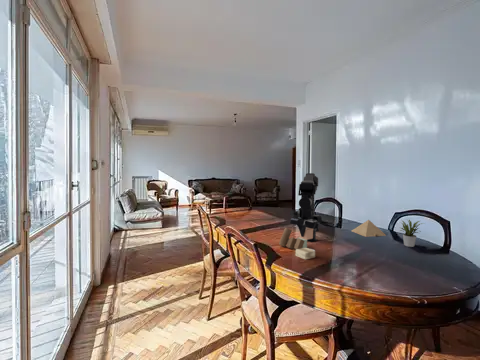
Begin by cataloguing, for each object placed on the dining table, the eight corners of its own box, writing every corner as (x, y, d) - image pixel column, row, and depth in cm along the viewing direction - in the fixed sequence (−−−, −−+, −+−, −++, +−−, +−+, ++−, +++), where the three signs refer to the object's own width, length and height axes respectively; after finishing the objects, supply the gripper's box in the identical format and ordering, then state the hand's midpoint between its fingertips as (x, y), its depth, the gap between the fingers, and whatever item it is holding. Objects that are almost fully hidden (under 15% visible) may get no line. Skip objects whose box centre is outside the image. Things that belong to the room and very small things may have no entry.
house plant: (428, 245, 170) (429, 218, 169) (423, 250, 160) (424, 222, 159) (401, 241, 180) (402, 215, 178) (395, 245, 169) (396, 218, 168)
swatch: (306, 248, 163) (306, 247, 163) (315, 250, 158) (315, 249, 158) (299, 249, 159) (299, 249, 159) (308, 252, 154) (308, 251, 154)
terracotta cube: (305, 236, 151) (305, 227, 151) (312, 238, 147) (313, 228, 147) (298, 237, 148) (299, 228, 148) (306, 239, 144) (306, 230, 144)
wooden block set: (302, 255, 158) (308, 237, 159) (290, 250, 154) (297, 233, 155) (283, 245, 174) (289, 229, 175) (272, 241, 170) (279, 225, 171)
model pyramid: (366, 237, 189) (366, 222, 188) (350, 231, 205) (350, 217, 205) (387, 236, 192) (388, 221, 192) (370, 230, 209) (371, 217, 208)
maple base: (305, 253, 153) (305, 247, 153) (314, 257, 147) (315, 251, 147) (295, 256, 150) (295, 249, 149) (305, 260, 144) (305, 253, 143)
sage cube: (299, 245, 168) (299, 237, 168) (306, 247, 165) (307, 238, 165) (295, 247, 164) (295, 238, 164) (303, 249, 161) (303, 240, 161)
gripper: (305, 202, 159) (305, 230, 160) (282, 205, 147) (281, 235, 148) (322, 205, 150) (321, 234, 151) (299, 208, 139) (298, 240, 140)
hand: (305, 236), depth 148 cm, fingers closed on terracotta cube, 5 cm apart
